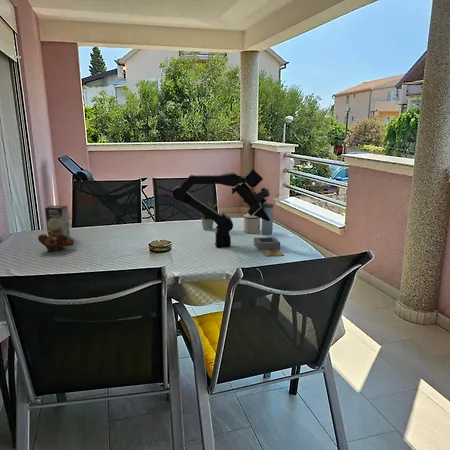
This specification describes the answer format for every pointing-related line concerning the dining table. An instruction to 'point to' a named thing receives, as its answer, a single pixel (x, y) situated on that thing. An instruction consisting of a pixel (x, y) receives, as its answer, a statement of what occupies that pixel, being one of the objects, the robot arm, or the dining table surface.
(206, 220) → the house plant
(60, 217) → the coffee box
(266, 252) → the mat
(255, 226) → the teacup with lid
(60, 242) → the decorative turtle
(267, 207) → the ball
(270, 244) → the frame
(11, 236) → the dining table surface
